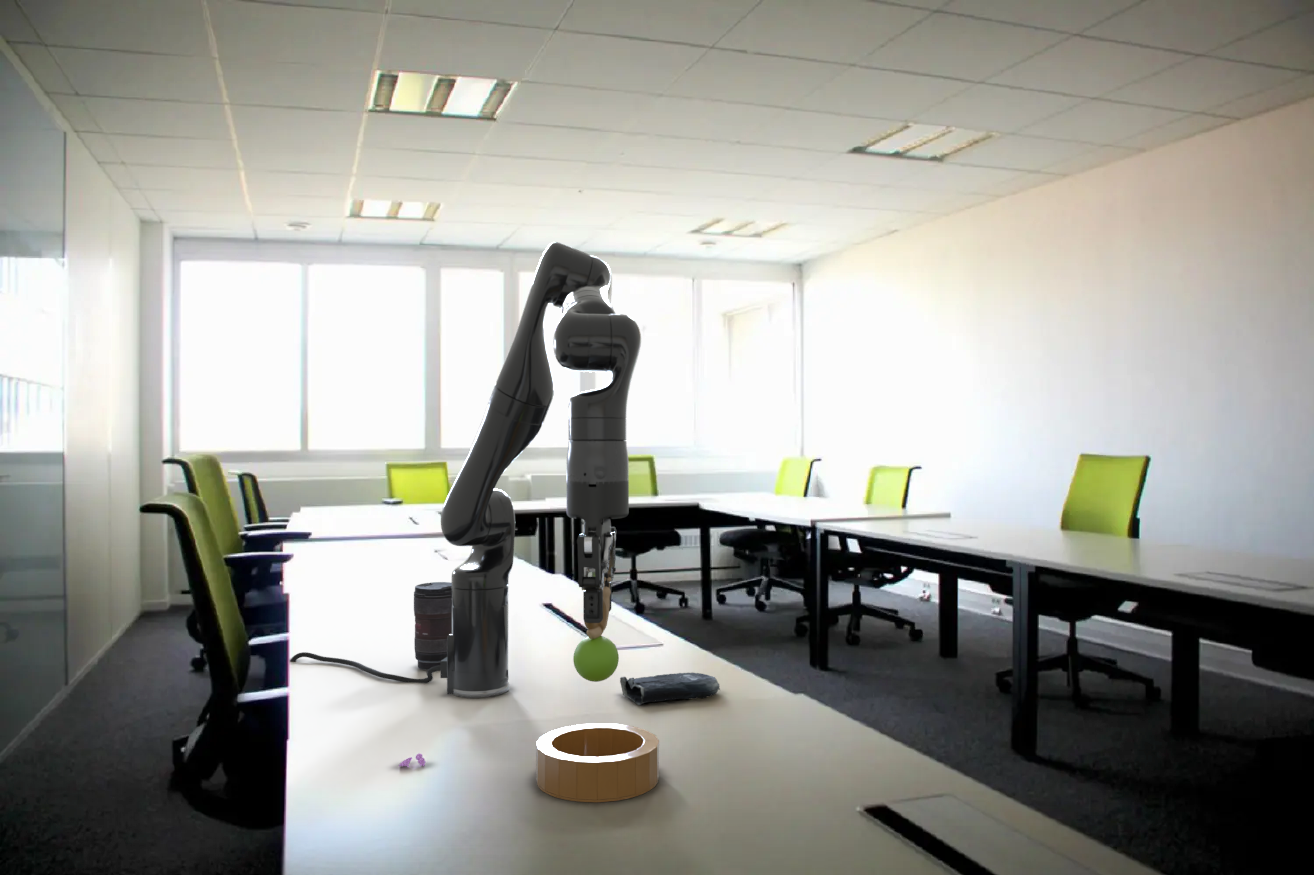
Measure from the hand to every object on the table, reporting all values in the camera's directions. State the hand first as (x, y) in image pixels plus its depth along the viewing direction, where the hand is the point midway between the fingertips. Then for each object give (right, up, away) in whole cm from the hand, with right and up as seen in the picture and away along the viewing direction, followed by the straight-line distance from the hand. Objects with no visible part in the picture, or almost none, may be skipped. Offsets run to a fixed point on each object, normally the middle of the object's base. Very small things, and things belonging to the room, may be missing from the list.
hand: (597, 616), depth 110 cm
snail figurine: (0, -8, 0) cm, 8 cm away
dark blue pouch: (+10, -20, +37) cm, 43 cm away
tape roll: (0, -19, -1) cm, 19 cm away
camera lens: (-33, -21, +57) cm, 69 cm away
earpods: (-24, -20, +4) cm, 31 cm away
